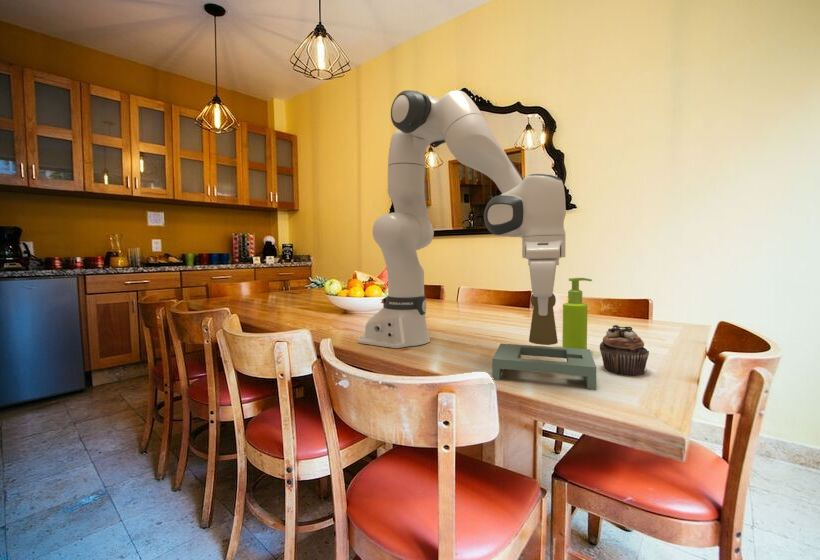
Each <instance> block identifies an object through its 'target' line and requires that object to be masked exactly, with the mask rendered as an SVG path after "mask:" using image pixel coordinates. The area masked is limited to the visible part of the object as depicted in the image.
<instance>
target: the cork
mask: <svg viewBox="0 0 820 560" xmlns="http://www.w3.org/2000/svg"><path fill="white" fill-rule="evenodd" d="M556 302H557V299H556V296H555V294H554V293H553V294H552V296H551V297H548V314H547V315H546V316H541V315H539V307H538V297H534V296H533V293H532V294H531V296H530V303H531V305H532V307H533V308H532V313H531V314H532V315H531V322H530V329H529V336H528V337H529V339H528V342H529V343H531V344H535V345H539V346H549V345H550V346H551V345H556V344H558V334H557V327H556V319H555V311H554V306H555V305H556Z"/></svg>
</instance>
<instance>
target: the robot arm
mask: <svg viewBox="0 0 820 560" xmlns="http://www.w3.org/2000/svg"><path fill="white" fill-rule="evenodd" d="M390 120H391V122H392V124H393V126H394V127H395V128H396V129H397V130H395V131H394V132H393V133H392V135H391V138H390V143H389V149H388V156H387V157H388V158H387V194H388V197H389V198H390V200H391V202H392V205H393V208H394V212H389V213H385V214H382V215H380V216H378V217H377V219H375V221H374V223H373V225H372V238H373V240H374V242H375V243H376V244H377V246H378V247H379V248H380V250H381V252H382V253H381V254H382V256H383V259H384V262H385V267H386V273H387V291H388V292H387V293H388V295H386V297H384V298H381V299H380V301H381V302H380V304H382V308H381V309H380V310H379V311H378V312H376V313H375V314H374V315H373V316H372V317H370V318H369V319H368V321H367V322H366V323H365V329H364V334H362V335H360V336H359V337H358V338H357V343H358V344H362V345H363V344H364V345H365V344H366V345H371V346H378V347H386V348H392V349H400V348H405V347H406V348H407V347H415V346H416V347H417V346H421V345H422V346H423V345H425V344H428V343H430V342H431V338H430V334H429V331H428V325H427V317H426V313H427V297H426V295H425V271H424V268H423V267H422V265H421V263H420V260H419V257H418V253H417V251H420V250H421V249H422V250H423V249H424V248H426V247H428V246H429V245H430V244H431V243H432V241H433V239H434V234H435V231H434V227H433V225H432V223H431V222H430V218H429V213H428V208H427V202H426V195H425V184H426V183H425V181H426V180H425V177H426V176H425V175H426V173H425V172H426V171H425V169H426V168H425V167H426V163H425V162H426V160H425V159H426V150H427V149H428V147H429V146H431V147H432V148H437V147H439V146H440V145H442V144H446V146H447V148H448V150H449V151H450V153H451V154H452V156H453V157H454V158H455V159H456V160H457V161H458V162H459V163H460V164H462V165H463V166H466V167H469V168H470V169H473V170H475V171H477V172H480V173H481V174H483V175H485V176H486V177H488V178H490V180H491V181H493V182H494V183H495V185H496V187H497V188H498V190H499V191H500V193H501V194H500V195H495V196H493V197H492V198H491V199H490V200H488V202H487V204H486V206H485V209H484V211H483V220H484V224H485V225H484V226H485V228H486V229H487V230H488V231H489V232H490V234H492V235H494V236H499V237H509V238H521V239H522V242H521V244H522V245H521V246H522V248H521V249H522V251H521V253H522V254H521V255H522V257H521V258H522V259H526V260H527V263H528V264H527V265H528V266H529V268H528V269H529V279H530V284H531V292H532V294H533V296H534V297H538V307H539V315H541V316H546V315H547V314H548V297H551V296H552V294H554V293H553V292H554V288H555V280H556V269H557V266H559V265H560V259H561V258H566V230H565V226H564V223H565V218H566V214H567V213H566V210H567V209H566V208H567V207H566V193H565V185H564V183H563V180H562V179H561V178H560V177H559V176H555V175H553V174H545V173H532V174H527V175H526V176H525V177H523V176H522V175H521V173H520V171H519V170H518V168H517V167H516V165H515V164H514V162H513V161H512V159H511V158H510V156H508V154H507V152H506V151H505V150H504V148H503V147H502V145H501V144H500V142H499V141H498V139H497V137H496V136H495V134H494V133H493V131H492V130H491V128H490V126H489V124H488V122H487V121H486V119H485V116H484V115H483V113H482V112H481V110H480V109H479V107H478V105H476V103H475V102H474V100H472V98H471V97H470V96H469V95H468V94H467V93H466V92H465V91H463V90H459V89H457V90H456V89H455V90H451V91H448V92H446V93H444V94H443V95H442V96H441V97H440V98H438V97H435V96H431V95H428V94H425V93H423V92H420V91H418V90H402V91H400V92H399V93H398V94H397V95H396V96H395V98H394V100H393V101H392V103H391V108H390Z"/></svg>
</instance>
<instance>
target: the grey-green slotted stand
mask: <svg viewBox="0 0 820 560" xmlns="http://www.w3.org/2000/svg"><path fill="white" fill-rule="evenodd" d="M562 347H563V346H562ZM562 347H560V346H559V347H558V346H548V345H531V344H530V345H529V344H516V343H515V344H514V343H501V342H500V343H499V345H498V347H497V349H496V351H495V353H494V354H493V357H492V358H491V361H492V362H491V363H492V365H491V366H492V367H491V368H492V369H491V373H492V376H491V377H493V378H494V379H493V380H494V381H495V380H496V381H500V379H501V377H502V375H501V374H503V372H504V370H510V371H511V370H512V371H525V372H534V373H543V374H555V375H567V376H577V377H584V380H585V384H586V388H587V390H593V391H595V390H596V391H597V365H596V362H595V360H594V358H593V355H592V353H591V352H592V351H591V350H590V349H588V348H587V349H577V348H562ZM521 356H528V357H529V356H530V357H542V358H555V359H566V361H558V360H557V361H556V360H546V359H545V360H544V359H543V360H542V359H532V358H521ZM503 369H504V370H503Z"/></svg>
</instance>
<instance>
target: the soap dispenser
mask: <svg viewBox="0 0 820 560" xmlns="http://www.w3.org/2000/svg"><path fill="white" fill-rule="evenodd" d="M568 281H569V282H571V289H569V290H568V294H567V295H568V296H567V302H564V303H562V348H577V349H588V304H586V303H584V302H583V290H581V289H580V281H582V282H583V281H586V282H592V281H593V279H590V278H586V277H572V278H570V277H569V278H568Z"/></svg>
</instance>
